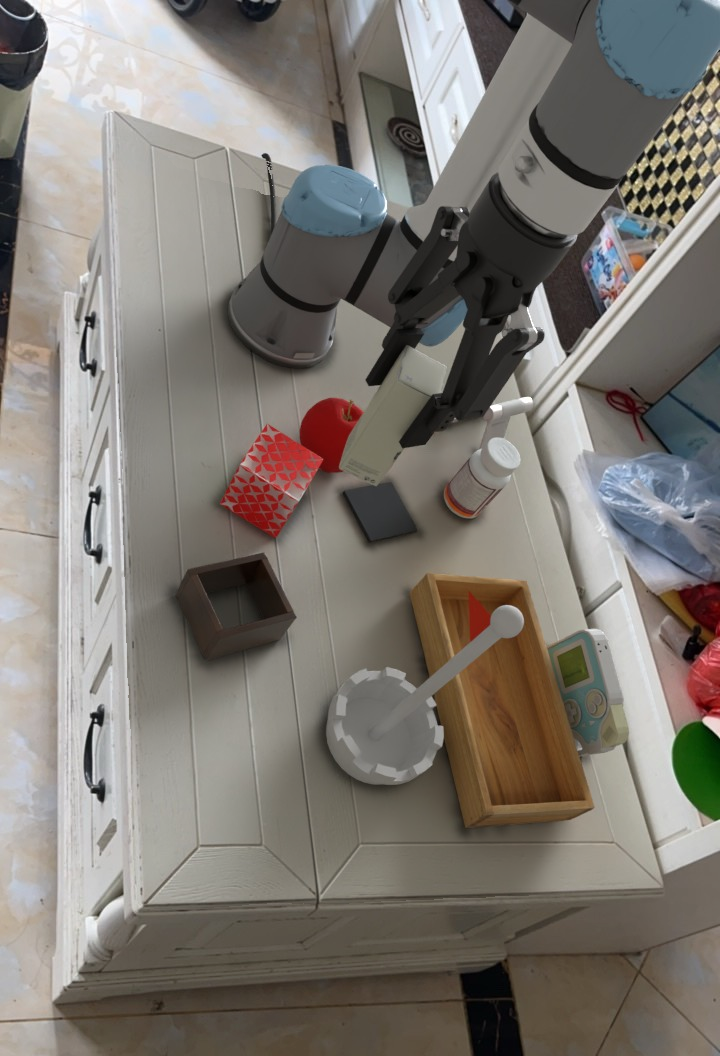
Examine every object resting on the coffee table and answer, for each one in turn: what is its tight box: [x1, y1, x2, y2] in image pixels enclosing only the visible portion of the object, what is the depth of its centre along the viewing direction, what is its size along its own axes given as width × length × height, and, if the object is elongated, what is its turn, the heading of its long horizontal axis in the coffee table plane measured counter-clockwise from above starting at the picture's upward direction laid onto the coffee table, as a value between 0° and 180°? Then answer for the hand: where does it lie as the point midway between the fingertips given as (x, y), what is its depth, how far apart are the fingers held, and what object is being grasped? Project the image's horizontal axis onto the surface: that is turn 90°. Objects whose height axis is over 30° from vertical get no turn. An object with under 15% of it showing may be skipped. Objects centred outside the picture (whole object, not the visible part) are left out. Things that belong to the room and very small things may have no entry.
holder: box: [174, 551, 297, 662], centre depth 97 cm, size 9×10×6 cm
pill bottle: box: [443, 438, 521, 519], centre depth 120 cm, size 6×6×11 cm
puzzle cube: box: [219, 423, 323, 539], centre depth 106 cm, size 8×8×8 cm
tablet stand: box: [451, 396, 534, 449], centre depth 129 cm, size 9×8×8 cm
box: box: [339, 345, 448, 486], centre depth 82 cm, size 5×4×13 cm
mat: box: [342, 481, 419, 544], centre depth 116 cm, size 8×8×1 cm
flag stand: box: [325, 590, 524, 786], centre depth 88 cm, size 13×13×30 cm
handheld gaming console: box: [546, 628, 630, 758], centre depth 110 cm, size 11×3×15 cm
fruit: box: [299, 397, 364, 474], centre depth 113 cm, size 9×9×10 cm
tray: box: [409, 572, 596, 829], centre depth 107 cm, size 31×15×6 cm, turn 11°
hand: (395, 411), depth 81 cm, fingers closed on box, 6 cm apart
